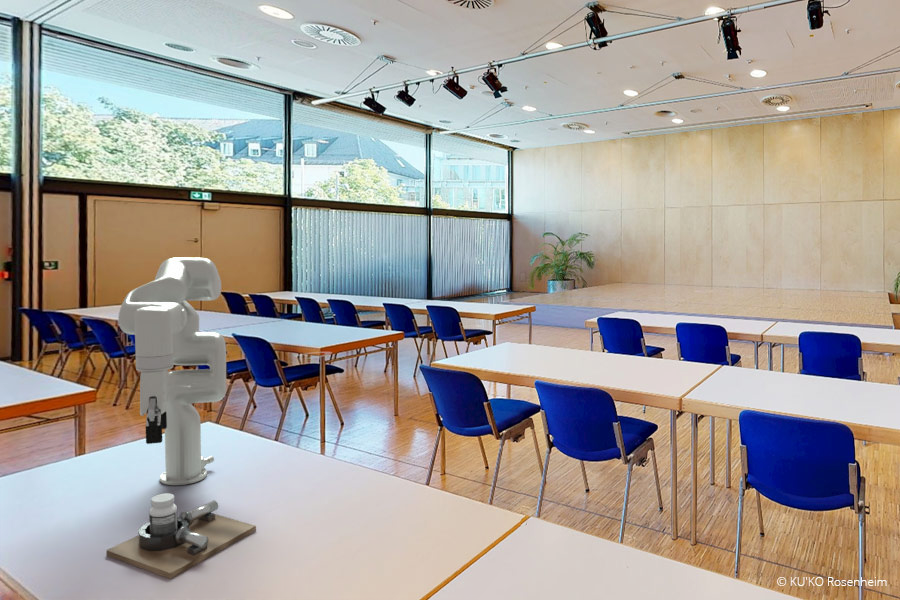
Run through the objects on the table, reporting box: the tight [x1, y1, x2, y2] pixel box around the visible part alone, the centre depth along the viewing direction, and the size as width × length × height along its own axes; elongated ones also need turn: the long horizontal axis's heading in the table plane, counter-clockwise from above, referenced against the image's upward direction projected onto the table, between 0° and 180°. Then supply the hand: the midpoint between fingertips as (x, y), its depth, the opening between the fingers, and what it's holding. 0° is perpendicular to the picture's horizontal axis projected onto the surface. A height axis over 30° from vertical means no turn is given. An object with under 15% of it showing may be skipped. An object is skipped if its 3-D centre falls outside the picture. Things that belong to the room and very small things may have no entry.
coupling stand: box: [106, 500, 257, 580], centre depth 139 cm, size 24×20×6 cm
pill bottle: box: [148, 492, 178, 535], centre depth 137 cm, size 6×6×10 cm
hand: (156, 435), depth 139 cm, fingers open, 9 cm apart
